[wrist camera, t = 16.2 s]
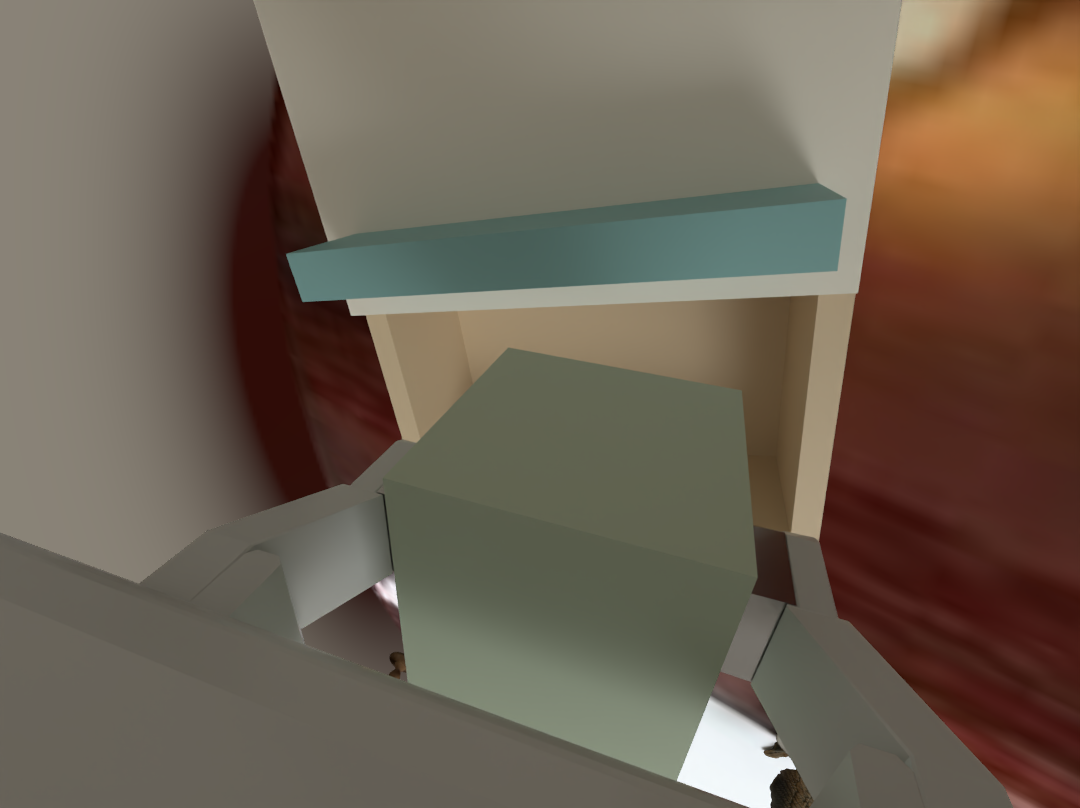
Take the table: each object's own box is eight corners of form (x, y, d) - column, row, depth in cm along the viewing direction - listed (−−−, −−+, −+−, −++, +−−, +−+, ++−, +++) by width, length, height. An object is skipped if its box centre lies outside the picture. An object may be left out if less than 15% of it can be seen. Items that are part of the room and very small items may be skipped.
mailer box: (793, 462, 26) (815, 560, 20) (478, 446, 32) (424, 517, 26) (856, -104, 16) (934, -236, 10) (385, 23, 22) (265, -14, 16)
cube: (742, 390, 9) (757, 577, 5) (689, 565, 11) (675, 784, 8) (508, 347, 10) (382, 478, 6) (503, 515, 12) (408, 686, 9)
